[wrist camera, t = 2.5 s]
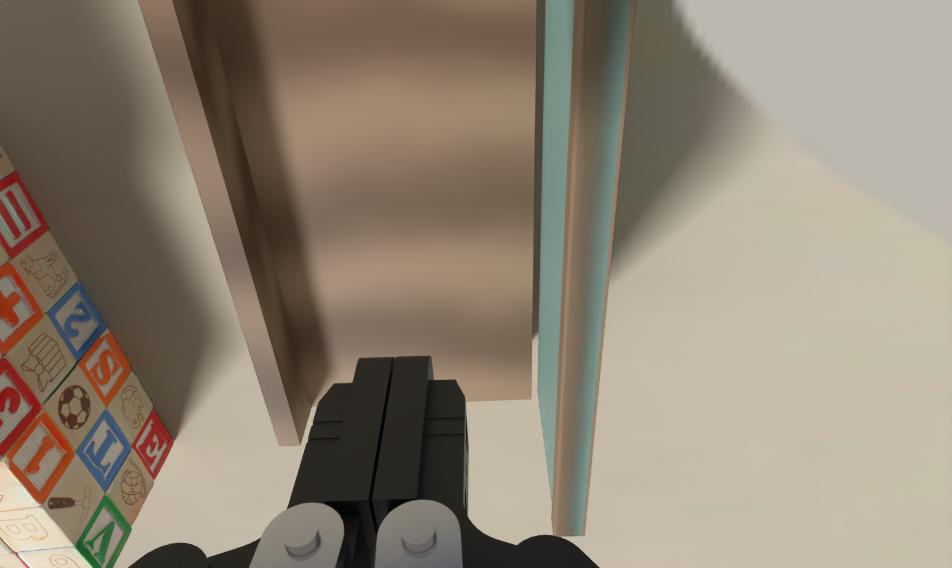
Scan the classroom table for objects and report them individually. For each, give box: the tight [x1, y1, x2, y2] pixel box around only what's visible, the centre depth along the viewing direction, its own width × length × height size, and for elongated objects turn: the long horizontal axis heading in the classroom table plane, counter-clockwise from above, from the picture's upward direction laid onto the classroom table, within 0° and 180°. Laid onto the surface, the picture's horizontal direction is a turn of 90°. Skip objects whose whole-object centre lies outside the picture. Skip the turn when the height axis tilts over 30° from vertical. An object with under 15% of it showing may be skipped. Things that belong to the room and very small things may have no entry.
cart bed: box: [138, 0, 537, 446], centre depth 26 cm, size 22×12×6 cm, turn 2°
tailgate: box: [538, 0, 636, 537], centre depth 21 cm, size 21×1×8 cm, turn 2°
